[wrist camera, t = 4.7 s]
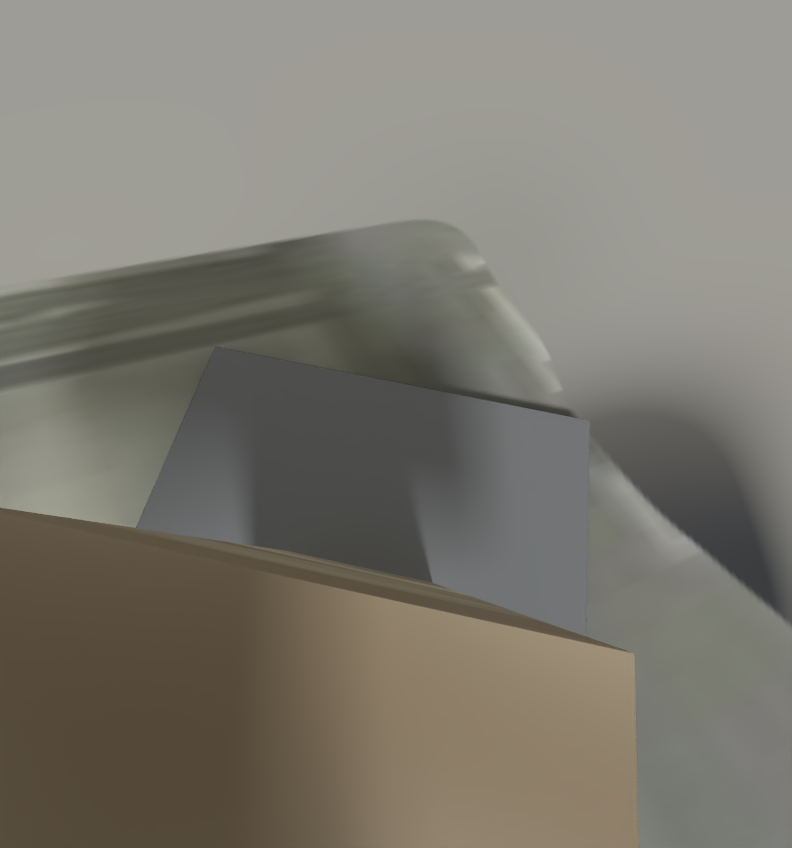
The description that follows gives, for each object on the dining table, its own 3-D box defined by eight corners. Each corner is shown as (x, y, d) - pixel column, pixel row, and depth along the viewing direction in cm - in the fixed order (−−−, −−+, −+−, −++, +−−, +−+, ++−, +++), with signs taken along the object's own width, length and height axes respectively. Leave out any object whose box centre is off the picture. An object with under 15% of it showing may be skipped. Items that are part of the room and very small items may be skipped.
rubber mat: (564, 1170, 10) (575, 1206, 10) (-57, 999, 11) (-82, 1023, 10) (583, 425, 18) (589, 420, 17) (220, 353, 19) (215, 346, 18)
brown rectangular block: (416, 686, 13) (653, 1524, 2) (254, 649, 14) (-522, 1166, 2) (432, 582, 15) (634, 653, 3) (283, 550, 15) (-79, 496, 3)
